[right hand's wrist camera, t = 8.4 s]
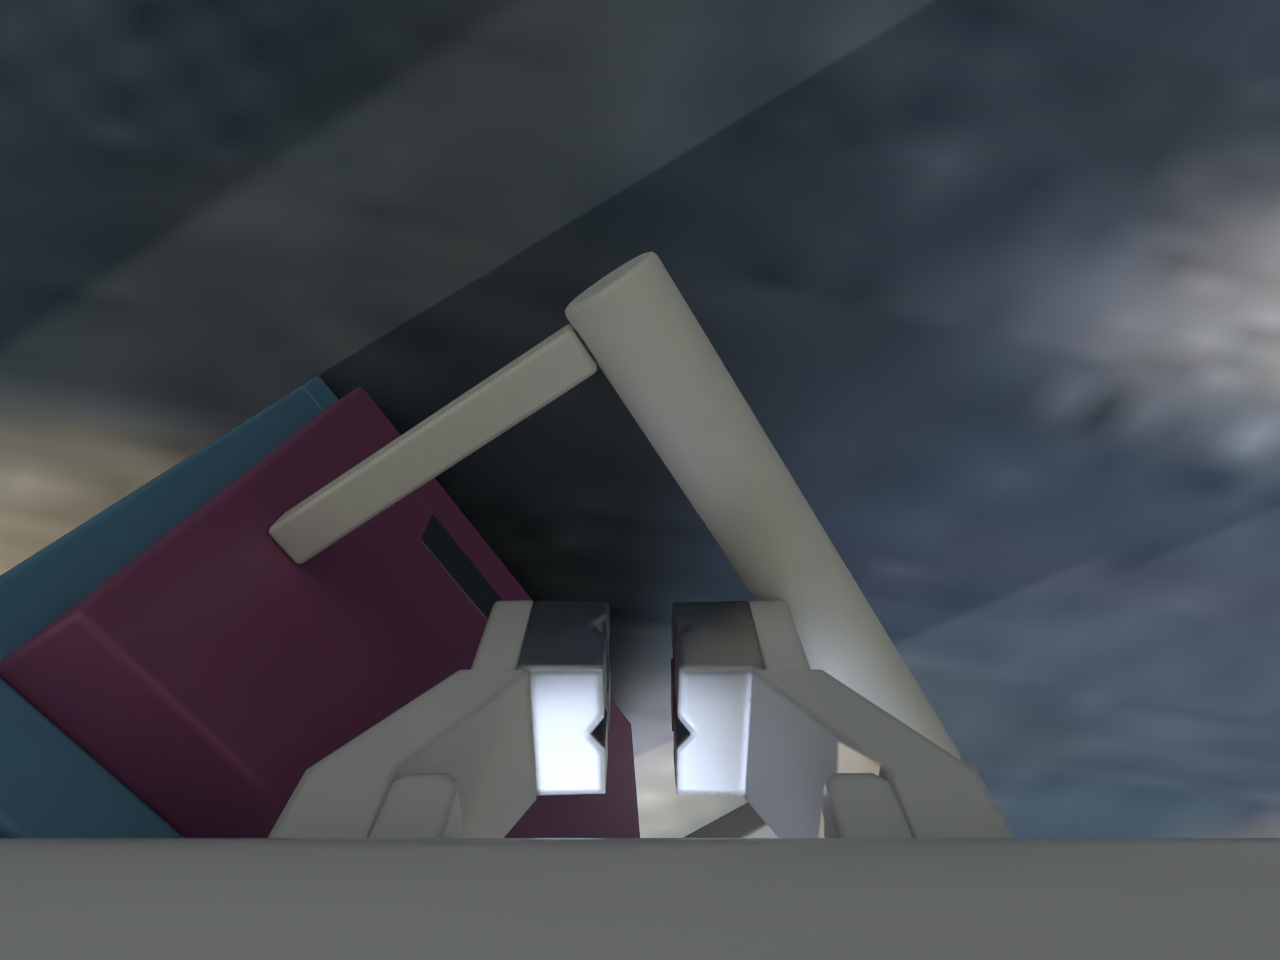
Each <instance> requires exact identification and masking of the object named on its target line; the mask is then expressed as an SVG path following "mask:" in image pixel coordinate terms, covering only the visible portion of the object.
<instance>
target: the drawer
mask: <svg viewBox="0 0 1280 960" xmlns="http://www.w3.org/2000/svg"><path fill="white" fill-rule="evenodd" d="M565 314H566V317H567V319H568V320H569V322H570V323H571V324H570V325H566V326H565V327H563V328H562V329H560V330H559V331H557V332H556V333H554V334H553V335H551V336H550V337H548V338H547V339H545V340H544V341H542V342H541V343H539V344H538V345H536V346H535V347H533V348H532V349H530V350H529V351H527V352H526V353H524V354H523V355H521V356H520V357H518V358H517V359H515V360H514V361H512V362H511V363H509V364H508V365H506V366H505V367H503V368H502V369H500V370H499V371H497V372H496V373H494V374H493V375H491V376H490V377H488V378H487V379H485V380H484V381H482V382H481V383H479V384H478V385H476V386H475V387H473V388H472V389H470V390H469V391H467V392H465V393H464V394H462V395H461V396H459V397H458V398H456V399H455V400H453V401H452V402H450V403H449V404H447V405H446V406H444V407H443V408H441V409H440V410H438V411H437V412H435V413H434V414H432V415H431V416H429V417H428V418H426V419H425V420H423V421H422V422H420V423H419V424H417V425H416V426H414V427H413V428H411V429H410V430H408V431H407V432H405V433H404V434H402V435H400V434H399V433H398V431H397V430H396V429H395V427H394V426H393V425H392V424H391V422H390V421H389V420H388V419H387V417H386V416H385V415H384V414H383V412H382V411H381V410H380V409H379V407H378V406H377V405H376V404H375V402H374V401H373V400H372V399H371V397H370V396H369V395H368V394H367V392H366V391H365V390H364V389H363V388H362V387H357V388H356V389H354V390H353V391H351V392H350V393H348V394H347V395H345V396H344V397H342V398H341V399H339V400H338V401H337V402H335V403H334V404H332V405H331V406H329V407H328V408H326V409H325V410H323V411H322V412H321V413H319V414H318V415H317V416H315V417H314V418H313V419H312V420H310V421H309V422H308V423H306V424H305V425H304V426H303V427H301V428H300V429H299V430H297V431H296V432H295V433H294V434H292V435H291V436H290V437H288V438H287V439H286V440H285V441H283V442H282V443H281V444H279V445H278V446H277V447H276V448H274V449H273V450H272V451H270V452H269V453H268V454H267V455H265V456H264V457H263V458H261V459H260V460H259V461H258V462H256V463H255V464H254V465H252V466H251V467H250V468H249V469H247V470H246V471H245V472H243V473H242V474H241V475H239V476H238V477H237V478H236V479H234V480H233V481H232V482H230V483H229V484H228V485H227V486H225V487H224V488H223V489H221V490H220V491H219V492H218V493H216V494H215V495H214V496H212V497H211V498H210V499H209V500H207V501H206V502H205V503H203V504H202V505H201V506H200V507H198V508H197V509H196V510H194V511H193V512H192V513H191V514H189V515H188V516H187V517H185V518H184V519H183V520H182V521H180V522H179V523H178V524H176V525H175V526H174V527H173V528H171V529H170V530H169V531H167V532H166V533H165V534H164V535H162V536H161V537H160V538H158V539H157V540H156V541H154V542H153V543H152V544H151V545H149V546H148V547H147V548H145V549H144V550H143V551H142V552H140V553H139V554H138V555H136V556H135V557H134V558H133V559H131V560H130V561H129V562H127V563H126V564H125V565H124V566H122V567H121V568H120V569H118V570H117V571H116V572H115V573H113V574H112V575H111V576H109V577H108V578H107V579H106V580H104V581H103V582H102V583H100V584H99V585H98V586H97V587H95V588H94V589H93V590H91V591H90V592H89V593H88V594H86V595H85V596H84V597H82V598H81V599H80V600H78V601H77V602H76V603H75V604H73V605H72V606H71V607H69V608H68V609H67V610H66V611H64V612H63V613H62V614H60V615H59V616H58V617H57V618H55V619H54V620H53V621H51V622H50V623H49V624H48V625H46V626H45V627H44V628H42V629H41V630H40V631H39V632H37V633H36V634H35V635H33V636H32V637H31V638H30V639H28V640H27V641H26V642H24V643H23V644H22V645H21V646H19V647H18V648H17V649H15V650H14V651H13V652H12V653H10V654H9V655H8V656H6V657H5V658H4V659H3V660H2V661H1V662H0V677H1V678H2V679H3V680H4V681H5V682H6V683H7V684H9V685H10V686H11V687H12V688H13V689H14V690H16V691H17V692H18V693H19V694H20V695H21V696H22V697H24V698H25V699H26V700H27V701H28V702H29V703H30V704H32V705H33V706H34V707H35V708H36V709H37V710H39V711H40V712H41V713H42V714H43V715H44V716H45V717H47V718H48V719H49V720H50V721H51V722H52V723H54V724H55V725H56V726H57V727H58V728H59V729H60V730H62V731H63V732H64V733H65V734H66V735H67V736H68V737H70V738H71V739H72V740H73V741H74V742H75V743H77V744H78V745H79V746H80V747H81V748H82V749H83V750H85V751H86V752H87V753H88V754H89V755H90V756H91V757H93V758H94V759H95V760H96V761H97V762H98V763H100V764H101V765H102V766H103V767H104V768H105V769H106V770H108V771H109V772H110V773H111V774H112V775H113V776H115V777H116V778H117V779H118V780H119V781H120V782H121V783H123V784H124V785H125V786H126V787H127V788H128V789H129V790H131V791H132V792H133V793H134V794H135V795H136V796H138V797H139V798H140V799H141V800H142V801H143V802H144V803H146V804H147V805H148V806H149V807H150V808H151V809H152V810H154V811H155V812H156V813H157V814H158V815H159V816H161V817H162V818H163V819H164V820H165V821H166V822H167V823H169V824H170V825H171V826H172V827H173V828H174V829H176V830H177V831H178V832H179V833H180V834H181V835H182V836H184V837H185V838H268V836H269V834H270V832H271V831H272V829H273V827H274V825H275V824H276V822H277V820H278V818H279V817H280V815H281V813H282V811H283V810H284V808H285V806H286V804H287V803H288V801H289V799H290V797H291V796H292V794H293V792H294V790H295V789H296V787H297V785H298V783H299V782H300V780H301V778H302V776H303V775H304V773H305V771H306V770H307V769H308V768H310V767H311V766H313V765H314V764H316V763H318V762H319V761H321V760H322V759H324V758H325V757H327V756H328V755H330V754H331V753H333V752H334V751H336V750H337V749H339V748H341V747H342V746H344V745H345V744H347V743H348V742H350V741H351V740H353V739H354V738H356V737H357V736H359V735H360V734H362V733H364V732H365V731H367V730H368V729H370V728H371V727H373V726H374V725H376V724H377V723H379V722H380V721H382V720H383V719H385V718H386V717H388V716H390V715H391V714H393V713H394V712H396V711H397V710H399V709H400V708H402V707H403V706H405V705H406V704H408V703H409V702H411V701H413V700H414V699H416V698H417V697H419V696H420V695H422V694H423V693H425V692H426V691H428V690H429V689H431V688H432V687H434V686H436V685H437V684H439V683H440V682H442V681H443V680H445V679H446V678H448V677H449V676H451V675H452V674H454V673H455V672H457V671H459V670H471V667H472V664H473V661H474V658H475V656H476V653H477V650H478V647H479V644H480V641H481V638H482V635H483V633H484V630H485V627H486V624H487V621H488V618H489V615H490V612H491V610H492V607H493V605H494V604H495V602H497V601H514V600H532V599H531V598H530V597H529V596H528V594H527V593H526V592H525V591H524V589H523V588H522V587H521V586H520V584H519V583H518V582H517V580H516V579H515V578H514V577H513V575H512V574H511V573H510V572H509V570H508V569H507V568H506V567H505V565H504V564H503V563H502V562H501V560H500V559H499V558H498V557H497V555H496V554H495V553H494V552H493V550H492V549H491V548H490V547H489V545H488V544H487V543H486V542H485V540H484V539H483V538H482V537H481V535H480V534H479V533H478V532H477V530H476V529H475V528H474V527H473V525H472V524H471V523H470V522H469V520H468V519H467V518H466V517H465V515H464V514H463V513H462V512H461V510H460V509H459V508H458V507H457V505H456V504H455V503H454V501H453V500H452V499H451V498H450V496H449V495H448V494H447V493H446V491H445V490H444V489H443V488H442V486H441V485H440V484H439V483H438V481H437V480H436V479H435V477H436V476H438V475H440V474H441V473H443V472H444V471H446V470H447V469H449V468H450V467H452V466H453V465H455V464H456V463H458V462H459V461H461V460H463V459H464V458H466V457H467V456H469V455H470V454H472V453H473V452H475V451H476V450H478V449H479V448H481V447H482V446H484V445H486V444H487V443H489V442H490V441H492V440H493V439H495V438H496V437H498V436H499V435H501V434H502V433H504V432H505V431H507V430H509V429H510V428H512V427H513V426H515V425H516V424H518V423H519V422H521V421H522V420H524V419H525V418H527V417H528V416H530V415H532V414H533V413H535V412H536V411H538V410H539V409H541V408H542V407H544V406H545V405H547V404H548V403H550V402H551V401H553V400H555V399H556V398H558V397H559V396H561V395H562V394H564V393H565V392H567V391H568V390H570V389H571V388H573V387H574V386H576V385H578V384H579V383H581V382H582V381H584V380H585V379H587V378H588V377H590V376H591V375H593V374H594V373H595V372H596V370H597V364H598V365H599V367H600V368H601V370H602V371H603V373H604V374H605V376H606V377H607V379H608V380H609V382H610V383H611V385H612V386H613V388H614V389H615V391H616V392H617V394H618V395H619V397H620V398H621V400H622V401H623V402H624V404H625V405H626V407H627V408H628V410H629V411H630V413H631V414H632V416H633V417H634V419H635V420H636V422H637V423H638V425H639V426H640V428H641V429H642V431H643V432H644V434H645V435H646V437H647V438H648V440H649V441H650V443H651V444H652V446H653V447H654V449H655V450H656V452H657V453H658V455H659V456H660V458H661V459H662V461H663V462H664V464H665V465H666V467H667V468H668V470H669V471H670V473H671V474H672V476H673V477H674V479H675V480H676V482H677V483H678V485H679V486H680V488H681V489H682V491H683V492H684V494H685V495H686V497H687V498H688V500H689V501H690V503H691V504H692V506H693V507H694V508H695V510H696V511H697V513H698V514H699V516H700V517H701V519H702V520H703V522H704V523H705V525H706V526H707V528H708V529H709V531H710V532H711V534H712V535H713V537H714V538H715V540H716V541H717V543H718V544H719V546H720V547H721V549H722V550H723V552H724V553H725V555H726V556H727V558H728V559H729V561H730V562H731V564H732V565H733V567H734V568H735V570H736V571H737V573H738V574H739V576H740V577H741V579H742V580H743V582H744V583H745V585H746V586H747V588H748V589H749V591H750V592H751V594H752V595H753V597H754V598H755V600H756V601H769V600H784V601H785V602H787V604H788V606H789V609H790V612H791V615H792V618H793V620H794V623H795V626H796V629H797V632H798V634H799V637H800V640H801V643H802V646H803V649H804V651H805V654H806V657H807V660H808V663H809V665H810V668H811V670H823V671H825V672H826V673H828V674H829V675H831V676H832V677H834V678H835V679H837V680H838V681H840V682H841V683H843V684H845V685H846V686H848V687H849V688H851V689H852V690H854V691H855V692H857V693H858V694H860V695H861V696H863V697H864V698H866V699H867V700H869V701H871V702H872V703H874V704H875V705H877V706H878V707H880V708H881V709H883V710H884V711H886V712H887V713H889V714H890V715H892V716H894V717H895V718H897V719H898V720H900V721H901V722H903V723H904V724H906V725H907V726H909V727H910V728H912V729H913V730H915V731H916V732H918V733H920V734H921V735H923V736H924V737H926V738H927V739H929V740H930V741H932V742H933V743H935V744H936V745H938V746H939V747H941V748H942V749H944V750H946V751H947V752H949V753H950V754H952V755H953V756H955V757H956V758H958V759H959V760H960V755H959V752H958V750H957V748H956V747H955V745H954V743H953V742H952V740H951V738H950V737H949V735H948V733H947V732H946V730H945V728H944V727H943V725H942V723H941V722H940V720H939V719H938V717H937V715H936V714H935V712H934V710H933V709H932V707H931V705H930V704H929V702H928V700H927V699H926V697H925V695H924V694H923V692H922V691H921V689H920V687H919V686H918V684H917V682H916V681H915V679H914V677H913V676H912V674H911V672H910V671H909V669H908V667H907V666H906V664H905V663H904V661H903V659H902V658H901V656H900V654H899V653H898V651H897V649H896V648H895V646H894V644H893V643H892V641H891V639H890V638H889V636H888V634H887V633H886V631H885V630H884V628H883V626H882V625H881V623H880V621H879V620H878V618H877V616H876V615H875V613H874V611H873V610H872V608H871V606H870V605H869V603H868V602H867V600H866V598H865V597H864V595H863V593H862V592H861V590H860V588H859V587H858V585H857V583H856V582H855V580H854V578H853V577H852V575H851V573H850V572H849V570H848V569H847V567H846V565H845V564H844V562H843V560H842V559H841V557H840V555H839V554H838V552H837V550H836V549H835V547H834V545H833V544H832V542H831V541H830V539H829V537H828V536H827V534H826V532H825V531H824V529H823V527H822V526H821V524H820V522H819V521H818V519H817V517H816V516H815V514H814V513H813V511H812V509H811V508H810V506H809V504H808V503H807V501H806V499H805V498H804V496H803V494H802V493H801V491H800V489H799V488H798V486H797V484H796V483H795V481H794V480H793V478H792V476H791V475H790V473H789V471H788V470H787V468H786V466H785V465H784V463H783V461H782V460H781V458H780V456H779V455H778V453H777V452H776V450H775V448H774V447H773V445H772V443H771V442H770V440H769V438H768V437H767V435H766V433H765V432H764V430H763V428H762V427H761V425H760V424H759V422H758V420H757V419H756V417H755V415H754V414H753V412H752V410H751V409H750V407H749V405H748V404H747V402H746V400H745V399H744V397H743V395H742V394H741V392H740V391H739V389H738V387H737V386H736V384H735V382H734V381H733V379H732V377H731V376H730V374H729V372H728V371H727V369H726V367H725V366H724V364H723V363H722V361H721V359H720V358H719V356H718V354H717V353H716V351H715V349H714V348H713V346H712V344H711V343H710V341H709V339H708V338H707V336H706V334H705V333H704V331H703V330H702V328H701V326H700V325H699V323H698V321H697V320H696V318H695V316H694V315H693V313H692V311H691V310H690V308H689V306H688V305H687V303H686V302H685V300H684V298H683V297H682V295H681V293H680V292H679V290H678V288H677V287H676V285H675V283H674V282H673V280H672V278H671V277H670V275H669V274H668V272H667V270H666V269H665V267H664V265H663V264H662V262H661V260H660V259H659V257H658V255H657V254H655V253H654V252H647V253H644V254H641V255H639V256H637V257H635V258H633V259H632V260H630V261H628V262H627V263H625V264H623V265H622V266H620V267H618V268H617V269H615V270H614V271H612V272H611V273H609V274H608V275H606V276H605V277H603V278H602V279H600V280H599V281H597V282H596V283H595V284H593V285H592V286H590V287H589V288H588V289H586V290H585V291H584V292H582V293H581V294H580V295H579V296H577V297H576V298H575V299H574V300H573V301H572V302H571V303H570V304H569V305H568V306H567V308H566V309H565ZM536 798H537V799H536V801H535V802H534V803H533V804H532V805H531V806H530V808H529V809H528V810H527V811H526V812H525V813H524V815H523V816H522V817H521V818H520V819H519V820H518V822H517V823H516V824H515V825H514V826H513V827H512V829H511V830H510V831H509V832H508V833H507V835H506V836H505V837H504V838H640V832H639V819H638V807H637V794H636V781H635V769H634V756H633V744H632V731H631V723H630V722H629V721H628V720H627V718H626V717H625V716H624V715H623V713H622V712H621V711H620V710H619V708H618V707H617V706H616V705H615V703H614V702H613V701H612V700H611V698H610V721H609V731H608V758H607V774H606V789H605V794H569V795H536ZM684 838H778V837H777V836H776V834H775V833H774V832H773V831H772V830H771V829H770V827H769V826H768V825H767V824H766V823H765V822H764V820H763V819H762V818H761V817H760V816H759V814H758V813H757V812H756V811H755V810H754V809H753V807H752V806H751V805H750V804H749V803H746V804H744V805H742V806H741V807H739V808H737V809H735V810H733V811H731V812H730V813H728V814H726V815H724V816H722V817H720V818H719V819H717V820H715V821H713V822H711V823H709V824H708V825H706V826H704V827H702V828H700V829H698V830H696V831H695V832H693V833H691V834H689V835H687V836H685V837H684Z"/></svg>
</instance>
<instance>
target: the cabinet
mask: <svg viewBox="0 0 1280 960" xmlns="http://www.w3.org/2000/svg"><path fill="white" fill-rule="evenodd" d="M337 401H338V398H337V397H336V396H335V395H334V393H333V392H332V391H331V390H330V389H329V387H328V386H327V385H326V384H325V382H324V381H323V380H322V379H321V378H320V377H314V378H313V379H311V380H310V381H308V382H307V383H305V384H303V385H302V386H300V387H299V388H297V389H295V390H294V391H292V392H291V393H289V394H288V395H286V396H284V397H283V398H281V399H280V400H278V401H276V402H275V403H273V404H272V405H270V406H269V407H267V408H265V409H264V410H262V411H261V412H259V413H257V414H256V415H254V416H253V417H251V418H250V419H248V420H246V421H245V422H243V423H242V424H240V425H238V426H237V427H235V428H234V429H232V430H231V431H229V432H227V433H226V434H224V435H223V436H221V437H219V438H218V439H216V440H215V441H213V442H212V443H210V444H208V445H207V446H205V447H204V448H202V449H201V450H199V451H197V452H196V453H194V454H193V455H191V456H189V457H188V458H186V459H185V460H183V461H182V462H180V463H178V464H177V465H175V466H174V467H172V468H170V469H169V470H167V471H166V472H164V473H163V474H161V475H159V476H158V477H156V478H155V479H153V480H151V481H150V482H148V483H147V484H145V485H144V486H142V487H140V488H139V489H137V490H136V491H134V492H132V493H131V494H129V495H128V496H126V497H125V498H123V499H121V500H120V501H118V502H117V503H115V504H113V505H112V506H110V507H109V508H107V509H106V510H104V511H102V512H101V513H99V514H98V515H96V516H94V517H93V518H91V519H90V520H88V521H87V522H85V523H83V524H82V525H80V526H79V527H77V528H75V529H74V530H72V531H71V532H69V533H68V534H66V535H64V536H63V537H61V538H60V539H58V540H56V541H55V542H53V543H52V544H50V545H49V546H47V547H45V548H44V549H42V550H41V551H39V552H37V553H36V554H34V555H33V556H31V557H30V558H28V559H26V560H25V561H23V562H22V563H20V564H18V565H17V566H15V567H14V568H12V569H11V570H9V571H7V572H6V573H4V574H3V575H1V576H0V662H1V661H2V660H3V659H4V658H5V657H6V656H8V655H9V654H10V653H12V652H13V651H14V650H15V649H17V648H18V647H19V646H21V645H22V644H23V643H24V642H26V641H27V640H28V639H30V638H31V637H32V636H33V635H35V634H36V633H37V632H39V631H40V630H41V629H42V628H44V627H45V626H46V625H48V624H49V623H50V622H51V621H53V620H54V619H55V618H57V617H58V616H59V615H60V614H62V613H63V612H64V611H66V610H67V609H68V608H69V607H71V606H72V605H73V604H75V603H76V602H77V601H78V600H80V599H81V598H82V597H84V596H85V595H86V594H88V593H89V592H90V591H91V590H93V589H94V588H95V587H97V586H98V585H99V584H100V583H102V582H103V581H104V580H106V579H107V578H108V577H109V576H111V575H112V574H113V573H115V572H116V571H117V570H118V569H120V568H121V567H122V566H124V565H125V564H126V563H127V562H129V561H130V560H131V559H133V558H134V557H135V556H136V555H138V554H139V553H140V552H142V551H143V550H144V549H145V548H147V547H148V546H149V545H151V544H152V543H153V542H154V541H156V540H157V539H158V538H160V537H161V536H162V535H164V534H165V533H166V532H167V531H169V530H170V529H171V528H173V527H174V526H175V525H176V524H178V523H179V522H180V521H182V520H183V519H184V518H185V517H187V516H188V515H189V514H191V513H192V512H193V511H194V510H196V509H197V508H198V507H200V506H201V505H202V504H203V503H205V502H206V501H207V500H209V499H210V498H211V497H212V496H214V495H215V494H216V493H218V492H219V491H220V490H221V489H223V488H224V487H225V486H227V485H228V484H229V483H230V482H232V481H233V480H234V479H236V478H237V477H238V476H239V475H241V474H242V473H243V472H245V471H246V470H247V469H249V468H250V467H251V466H252V465H254V464H255V463H256V462H258V461H259V460H260V459H261V458H263V457H264V456H265V455H267V454H268V453H269V452H270V451H272V450H273V449H274V448H276V447H277V446H278V445H279V444H281V443H282V442H283V441H285V440H286V439H287V438H288V437H290V436H291V435H292V434H294V433H295V432H296V431H297V430H299V429H300V428H301V427H303V426H304V425H305V424H306V423H308V422H309V421H310V420H312V419H313V418H314V417H315V416H317V415H318V414H319V413H321V412H322V411H323V410H325V409H326V408H328V407H329V406H331V405H332V404H334V403H335V402H337ZM0 838H185V837H184V836H182V835H181V834H180V833H179V832H178V831H177V830H176V829H174V828H173V827H172V826H171V825H170V824H169V823H167V822H166V821H165V820H164V819H163V818H162V817H161V816H159V815H158V814H157V813H156V812H155V811H154V810H152V809H151V808H150V807H149V806H148V805H147V804H146V803H144V802H143V801H142V800H141V799H140V798H139V797H138V796H136V795H135V794H134V793H133V792H132V791H131V790H129V789H128V788H127V787H126V786H125V785H124V784H123V783H121V782H120V781H119V780H118V779H117V778H116V777H115V776H113V775H112V774H111V773H110V772H109V771H108V770H106V769H105V768H104V767H103V766H102V765H101V764H100V763H98V762H97V761H96V760H95V759H94V758H93V757H91V756H90V755H89V754H88V753H87V752H86V751H85V750H83V749H82V748H81V747H80V746H79V745H78V744H77V743H75V742H74V741H73V740H72V739H71V738H70V737H68V736H67V735H66V734H65V733H64V732H63V731H62V730H60V729H59V728H58V727H57V726H56V725H55V724H54V723H52V722H51V721H50V720H49V719H48V718H47V717H45V716H44V715H43V714H42V713H41V712H40V711H39V710H37V709H36V708H35V707H34V706H33V705H32V704H30V703H29V702H28V701H27V700H26V699H25V698H24V697H22V696H21V695H20V694H19V693H18V692H17V691H16V690H14V689H13V688H12V687H11V686H10V685H9V684H7V683H6V682H5V681H4V680H3V679H2V678H1V677H0Z"/></svg>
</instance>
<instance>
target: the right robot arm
mask: <svg viewBox="0 0 1280 960" xmlns="http://www.w3.org/2000/svg"><path fill="white" fill-rule="evenodd" d="M609 636H610V625H609V602H572V601H535V602H534V601H533V600H514V601H497V602H495V604H494V605H493V607H492V610H491V612H490V615H489V618H488V621H487V624H486V627H485V630H484V633H483V635H482V638H481V641H480V644H479V647H478V650H477V653H476V656H475V658H474V661H473V664H472V667H471V670H459V671H457V672H455V673H454V674H452V675H451V676H449V677H448V678H446V679H445V680H443V681H442V682H440V683H439V684H437V685H436V686H434V687H432V688H431V689H429V690H428V691H426V692H425V693H423V694H422V695H420V696H419V697H417V698H416V699H414V700H413V701H411V702H409V703H408V704H406V705H405V706H403V707H402V708H400V709H399V710H397V711H396V712H394V713H393V714H391V715H390V716H388V717H386V718H385V719H383V720H382V721H380V722H379V723H377V724H376V725H374V726H373V727H371V728H370V729H368V730H367V731H365V732H364V733H362V734H360V735H359V736H357V737H356V738H354V739H353V740H351V741H350V742H348V743H347V744H345V745H344V746H342V747H341V748H339V749H337V750H336V751H334V752H333V753H331V754H330V755H328V756H327V757H325V758H324V759H322V760H321V761H319V762H318V763H316V764H314V765H313V766H311V767H310V768H308V769H307V770H306V771H305V773H304V775H303V776H302V778H301V780H300V782H299V783H298V785H297V787H296V789H295V790H294V792H293V794H292V796H291V797H290V799H289V801H288V803H287V804H286V806H285V808H284V810H283V811H282V813H281V815H280V817H279V818H278V820H277V822H276V824H275V825H274V827H273V829H272V831H271V832H270V834H269V836H268V838H0V960H1280V838H1015V837H1014V835H1013V834H1012V832H1011V830H1010V828H1009V827H1008V825H1007V823H1006V821H1005V820H1004V818H1003V816H1002V814H1001V813H1000V811H999V809H998V807H997V805H996V804H995V802H994V800H993V798H992V797H991V795H990V793H989V791H988V790H987V788H986V786H985V784H984V783H983V781H982V779H981V777H980V775H979V774H978V772H977V771H976V770H975V769H973V768H972V767H970V766H969V765H967V764H965V763H964V762H962V761H961V760H959V759H958V758H956V757H955V756H953V755H952V754H950V753H949V752H947V751H946V750H944V749H942V748H941V747H939V746H938V745H936V744H935V743H933V742H932V741H930V740H929V739H927V738H926V737H924V736H923V735H921V734H920V733H918V732H916V731H915V730H913V729H912V728H910V727H909V726H907V725H906V724H904V723H903V722H901V721H900V720H898V719H897V718H895V717H894V716H892V715H890V714H889V713H887V712H886V711H884V710H883V709H881V708H880V707H878V706H877V705H875V704H874V703H872V702H871V701H869V700H867V699H866V698H864V697H863V696H861V695H860V694H858V693H857V692H855V691H854V690H852V689H851V688H849V687H848V686H846V685H845V684H843V683H841V682H840V681H838V680H837V679H835V678H834V677H832V676H831V675H829V674H828V673H826V672H825V671H823V670H811V668H810V665H809V663H808V660H807V657H806V654H805V651H804V649H803V646H802V643H801V640H800V637H799V634H798V632H797V629H796V626H795V623H794V620H793V618H792V615H791V612H790V609H789V606H788V604H787V602H785V601H784V600H769V601H729V602H688V603H673V606H672V647H673V658H672V659H671V714H672V731H673V732H674V766H675V781H676V794H711V795H745V799H746V800H747V802H748V803H749V804H750V805H751V806H752V807H753V809H754V810H755V811H756V812H757V813H758V814H759V816H760V817H761V818H762V819H763V820H764V822H765V823H766V824H767V825H768V826H769V827H770V829H771V830H772V831H773V832H774V833H775V834H776V836H777V837H778V838H504V837H505V836H506V835H507V833H508V832H509V831H510V830H511V829H512V827H513V826H514V825H515V824H516V823H517V822H518V820H519V819H520V818H521V817H522V816H523V815H524V813H525V812H526V811H527V810H528V809H529V808H530V806H531V805H532V804H533V803H534V802H535V801H536V799H537V798H536V795H569V794H605V789H606V774H607V758H608V731H609V721H610V659H609V658H608V654H609Z"/></svg>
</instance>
